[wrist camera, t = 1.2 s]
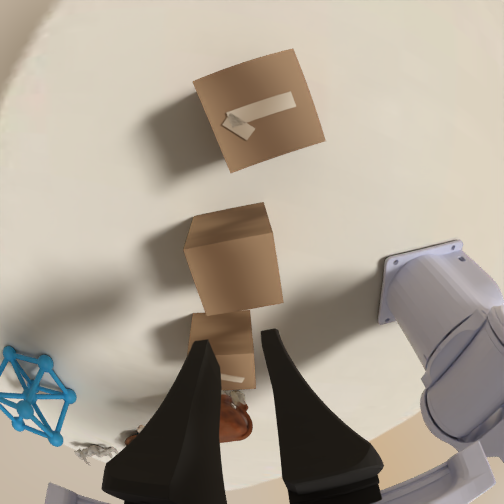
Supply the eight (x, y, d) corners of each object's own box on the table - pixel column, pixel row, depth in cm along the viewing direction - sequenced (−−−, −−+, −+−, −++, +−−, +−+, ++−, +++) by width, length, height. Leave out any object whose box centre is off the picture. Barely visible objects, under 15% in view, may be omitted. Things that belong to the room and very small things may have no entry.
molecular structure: (80, 395, 32) (64, 451, 23) (34, 384, 31) (15, 431, 22) (51, 352, 27) (23, 414, 18) (4, 341, 26) (-24, 392, 17)
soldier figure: (125, 449, 45) (95, 462, 44) (113, 431, 46) (84, 446, 45) (107, 460, 37) (77, 472, 36) (94, 440, 39) (65, 454, 38)
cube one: (277, 63, 15) (293, 48, 10) (302, 131, 17) (326, 141, 13) (203, 88, 15) (192, 81, 11) (231, 156, 18) (230, 173, 13)
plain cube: (263, 201, 20) (272, 232, 15) (273, 261, 22) (283, 302, 18) (193, 215, 20) (183, 249, 15) (210, 273, 22) (206, 315, 18)
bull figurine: (140, 387, 30) (129, 443, 23) (246, 376, 29) (250, 441, 22) (155, 404, 32) (148, 457, 25) (254, 394, 31) (259, 453, 24)
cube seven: (249, 309, 24) (254, 354, 20) (252, 347, 27) (255, 389, 22) (192, 312, 24) (187, 357, 20) (201, 349, 27) (198, 391, 22)
